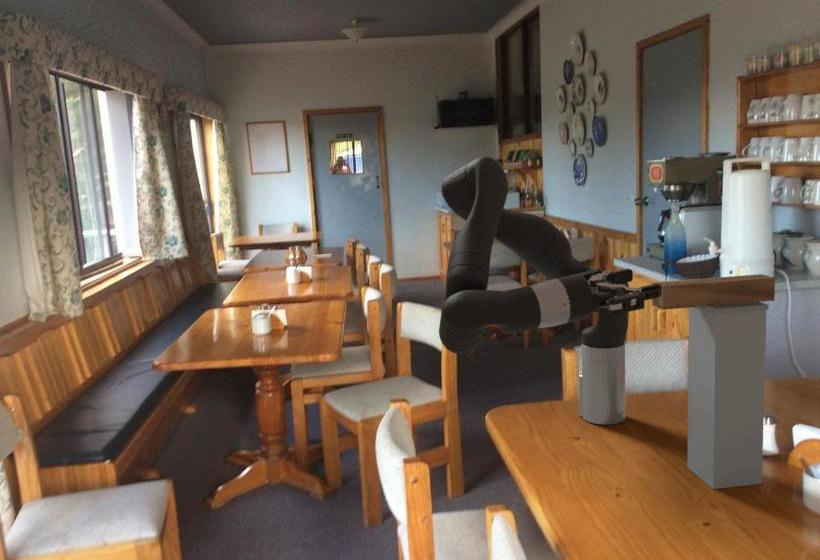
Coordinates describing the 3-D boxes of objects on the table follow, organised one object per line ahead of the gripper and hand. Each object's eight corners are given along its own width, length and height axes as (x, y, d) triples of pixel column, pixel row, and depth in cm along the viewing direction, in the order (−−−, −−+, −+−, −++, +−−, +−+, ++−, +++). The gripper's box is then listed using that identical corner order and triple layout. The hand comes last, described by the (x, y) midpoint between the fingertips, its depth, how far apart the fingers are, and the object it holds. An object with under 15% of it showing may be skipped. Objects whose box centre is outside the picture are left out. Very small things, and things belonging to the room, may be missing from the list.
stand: (685, 467, 133) (687, 298, 128) (733, 462, 134) (737, 294, 129) (712, 489, 124) (715, 309, 119) (763, 484, 125) (768, 304, 120)
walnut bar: (652, 305, 125) (652, 282, 124) (760, 296, 127) (761, 274, 126) (662, 309, 121) (663, 286, 120) (774, 300, 123) (775, 277, 122)
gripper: (577, 293, 109) (671, 273, 112) (537, 267, 122) (622, 249, 125) (579, 338, 111) (671, 316, 115) (539, 308, 124) (622, 289, 128)
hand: (645, 281), depth 120 cm, fingers open, 8 cm apart
